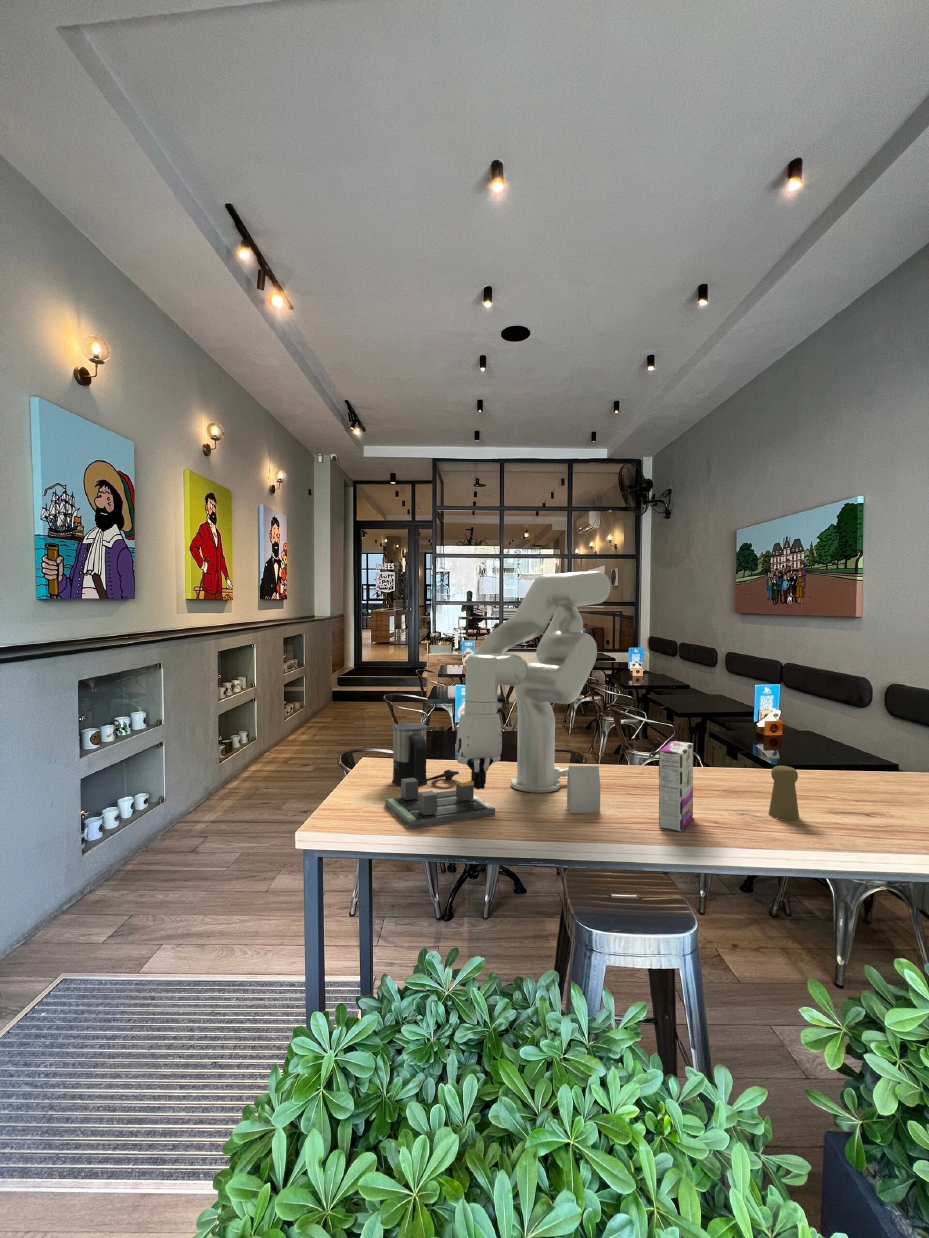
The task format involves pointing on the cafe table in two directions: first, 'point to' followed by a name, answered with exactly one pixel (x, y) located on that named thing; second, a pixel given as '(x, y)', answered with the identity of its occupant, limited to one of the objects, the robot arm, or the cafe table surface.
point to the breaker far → (409, 788)
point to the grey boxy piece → (583, 789)
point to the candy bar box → (675, 785)
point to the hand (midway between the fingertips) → (478, 787)
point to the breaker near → (428, 802)
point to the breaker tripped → (464, 789)
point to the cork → (784, 794)
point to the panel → (439, 810)
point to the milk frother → (412, 754)
